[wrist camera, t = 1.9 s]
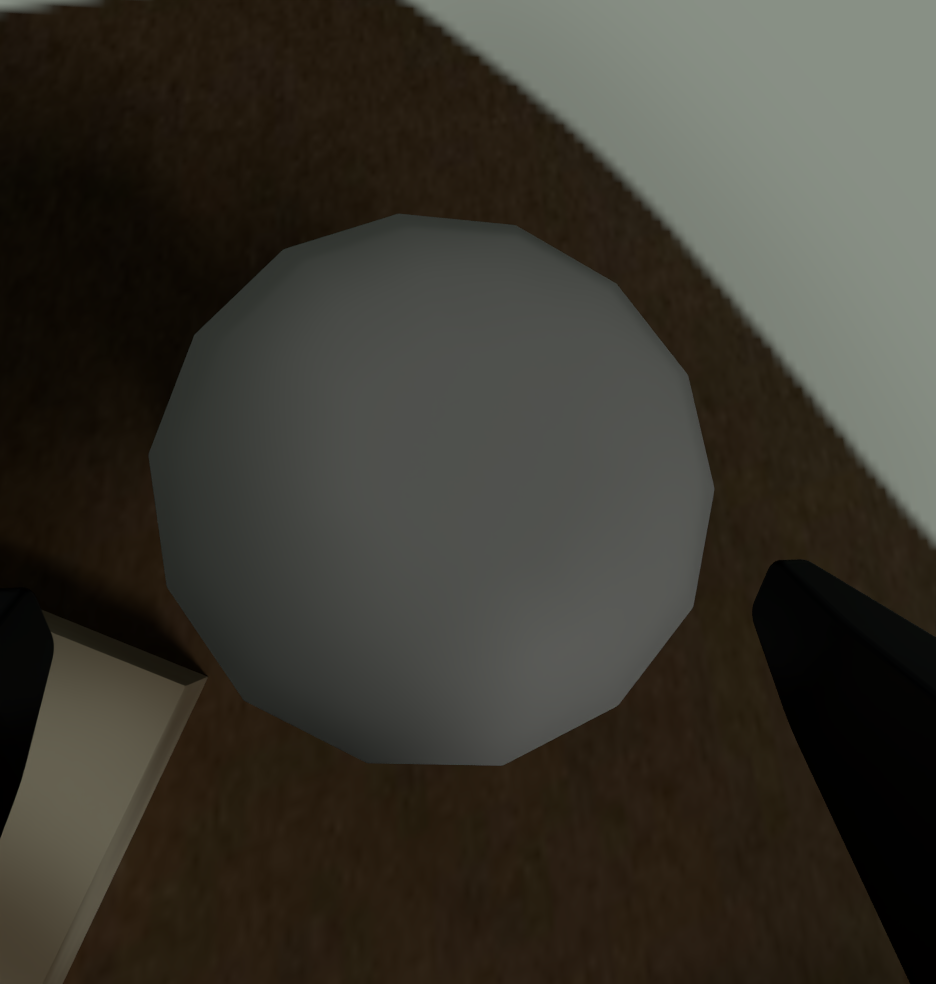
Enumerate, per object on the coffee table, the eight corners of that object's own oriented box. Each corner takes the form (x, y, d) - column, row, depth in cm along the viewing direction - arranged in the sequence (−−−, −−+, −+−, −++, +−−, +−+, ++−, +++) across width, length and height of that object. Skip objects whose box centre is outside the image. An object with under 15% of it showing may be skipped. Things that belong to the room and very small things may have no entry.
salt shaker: (227, 616, 16) (-271, 643, 4) (346, 416, 18) (280, -83, 5) (441, 729, 17) (666, 1121, 4) (544, 524, 18) (969, 316, 5)
